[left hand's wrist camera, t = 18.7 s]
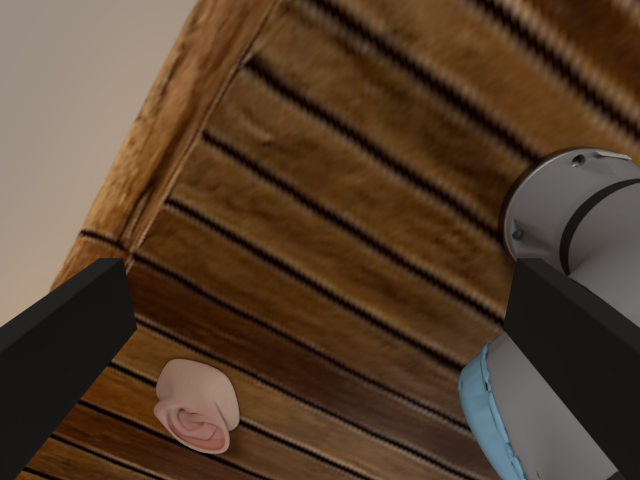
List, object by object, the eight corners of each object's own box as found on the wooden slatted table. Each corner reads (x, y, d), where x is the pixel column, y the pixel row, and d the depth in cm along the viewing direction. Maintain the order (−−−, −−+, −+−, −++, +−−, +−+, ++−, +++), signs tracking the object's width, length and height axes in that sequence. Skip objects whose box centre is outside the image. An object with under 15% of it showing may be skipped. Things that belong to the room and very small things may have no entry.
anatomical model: (138, 377, 46) (231, 381, 46) (152, 356, 49) (237, 360, 49) (150, 456, 50) (234, 459, 50) (161, 431, 54) (240, 434, 54)
